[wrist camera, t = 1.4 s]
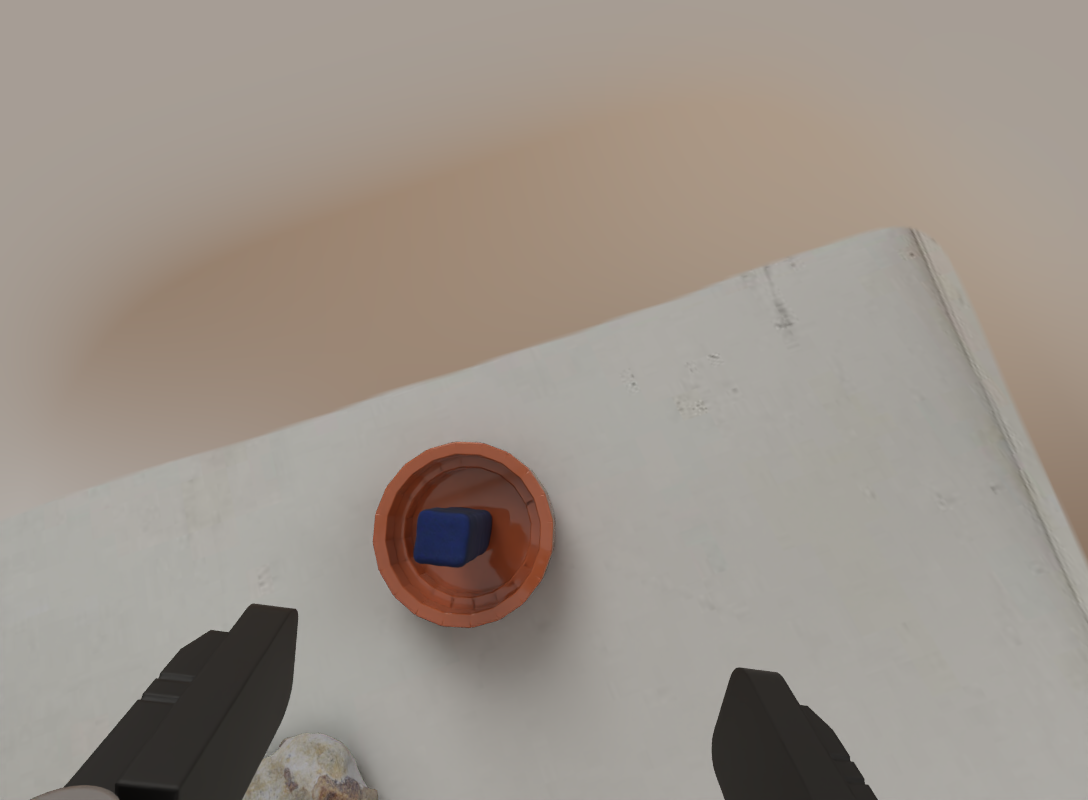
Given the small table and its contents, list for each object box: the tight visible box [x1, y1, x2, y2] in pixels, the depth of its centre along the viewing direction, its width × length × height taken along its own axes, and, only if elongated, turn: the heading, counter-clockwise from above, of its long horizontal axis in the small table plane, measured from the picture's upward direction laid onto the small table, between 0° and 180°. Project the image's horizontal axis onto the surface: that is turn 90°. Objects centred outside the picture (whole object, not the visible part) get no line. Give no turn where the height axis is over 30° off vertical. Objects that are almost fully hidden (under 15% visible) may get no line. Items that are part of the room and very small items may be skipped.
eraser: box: [413, 507, 492, 568], centre depth 25 cm, size 2×2×7 cm
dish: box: [373, 442, 555, 628], centre depth 28 cm, size 8×8×3 cm
